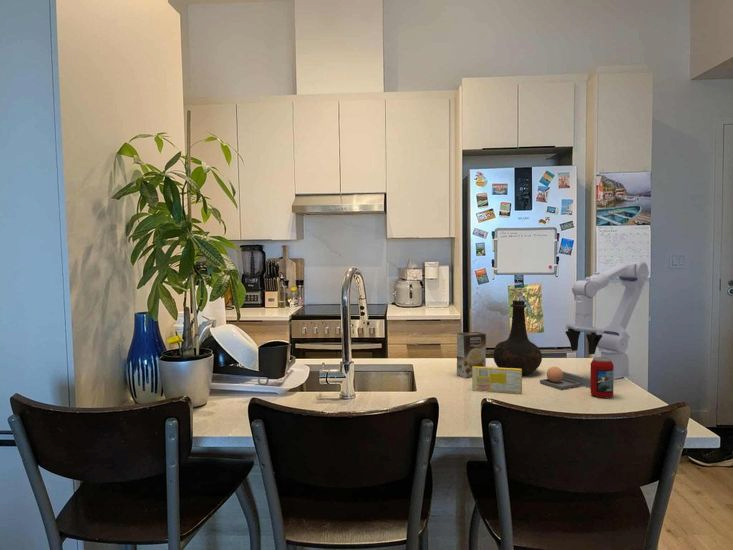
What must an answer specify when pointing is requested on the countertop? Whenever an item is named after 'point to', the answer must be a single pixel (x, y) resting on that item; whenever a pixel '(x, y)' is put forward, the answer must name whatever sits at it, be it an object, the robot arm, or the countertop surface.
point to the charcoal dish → (561, 383)
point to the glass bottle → (518, 345)
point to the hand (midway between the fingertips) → (583, 352)
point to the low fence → (577, 379)
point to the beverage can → (602, 377)
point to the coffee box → (470, 352)
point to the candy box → (497, 379)
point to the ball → (554, 374)
